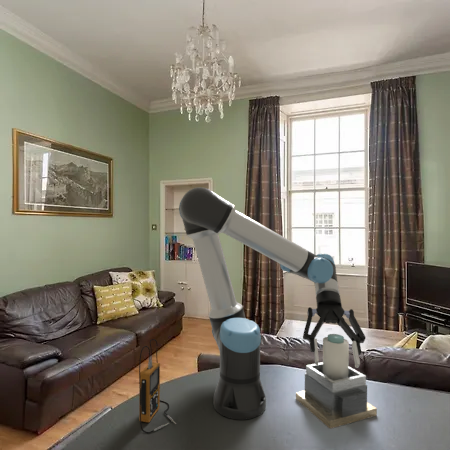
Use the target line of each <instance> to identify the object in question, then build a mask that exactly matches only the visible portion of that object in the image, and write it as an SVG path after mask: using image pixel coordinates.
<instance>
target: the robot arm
mask: <svg viewBox="0 0 450 450" xmlns="http://www.w3.org/2000/svg"><path fill="white" fill-rule="evenodd" d="M178 212H179V215H180V218H181V219H182V222H183V227H184V230H185V233H186V236H187V237H188V238H190V239H192V242H193V245H194V249H195V252H196V253H195V254H196V257H197V260H198V264H199V266H200V267H199V268H200V271H201V274H202V279H203V282H204V286H205V290H206V293H207V298H208V301H209V304H210V308H211V309H210V311H209V313H208V319H209V322H210V326H211V334H212V336H213V338H214V341H215V342H216V345H217V347H218V351H219V378H218V382H217V385H216V387H215V391H214V393H213V399H212V400H213V403H212V404H213V407H214V410H215V411H216V412H217V414H219V415H221V416H223V417H225V418H229V419H232V420H239V421H240V420H241V421H242V420H250V419H254V418H257V417H259V416H261V415H262V414H263V413H264V411H266V406H267V403H266V402H267V401H266V400H267V399H266V397H267V396H266V394H265V391H264V388H263V384H262V380H261V341H262V338H261V337H262V336H261V329H260V326H259V324H257V323H256V322H255V321H254V320H250V319H249V318H246V314H245V310H244V305H243V304H241V303H239V302H238V301H237V298H236V296H235V295H236V294H235V290H234V287H233V283H232V280H231V276H230V272H229V268H228V265H227V261H226V258H225V257H226V256H225V254H224V250H223V246H222V243H221V239H220V236H219V235H220V234H225V235H226V236H229V237H230V238H232V239H233V240H236V241H237V242H239V243H241V244H243V245H245V246H247V247H249V248H251V249H252V250H254V251H256V252H258V253H259V254H261V255H264V256H265V257H267V258H268V259H271V260H272V261H274V262H276V263H278V264H279V265H280V266H279V267H280V269H281V270H282V271H284V272H287V273H288V274H293V275H295V276H296V275H297V276H298V277H302V278H303V279H304V278H305V279H307V280H309V281H311V282H313V283H314V289H315V299H316V308H312V307H308V308H307V312H306V313H307V319H306V322H305V327H304V330H303V334H302V339H303V340H305V341H306V340H307V341H308V343H309V350H310V352H311V353H313V355H314V364H315V365H318V363H320V356H319V347H318V340H317V339H318V338H316V337H317V335H318V333H319V332H320V329H321V328H322V327H323V325H324V323H325V324H337V325H338V326H339V327H340V328H341V329H342V331H343V332H344V334H345V335H347V337H348V338H349V339H350V341H351V342H352V343H351V351H352V355H353V361H354V367H355V368H356V369H359V367H360V365H361V361H360V355H361V354H362V347H361V344H364V342H365V341H366V339H367V338H366V335H365V333H364V331H363V329H362V328H361V326H360V324H359V322H358V320H357V318H356V316H355V312H354V309H352V308H351V309H349V310H345V309H344V308H343V305H342V300H341V295H340V294H341V293H340V289H339V281H338V276H337V269H336V264H335V260H334V258H333V257H332V255H330V254H328V253H318V254H314V253H312V252H311V251H309V250H307V249H306V248H304V247H303V246H301V245H299V244H298V243H296V242H293V241H292V240H290V239H288V238H286V237H284V236H283V235H281V234H279V233H278V232H275V231H274V230H272V229H270V228H268V227H267V226H265V225H263V224H262V223H260V222H258V221H256V220H254V219H252V218H251V217H249V216H247V215H245V214H244V213H242V212H240V211H238V210H237V209H236V208H235V204H233V203H232V202H230V201H228V200H226V199H225V198H223V197H222V196H220V195H219V194H217V193H216V192H214V191H212V190H211V189H209V188H206V187H202V186H198V187H194V188H191V189H189V190H188V191H186V193H185V194H184V195H183V196H182V198H181V200H180V202H179V206H178ZM315 314H316V315H317V316H318V317H319V319H318V321H317V322H316V324H315V326H314V328H313V330H312V331H311V333H309V332H310V329H311V323H312V320H313V317H314V316H315ZM344 316H345V317H346V319H348V321H349V323H348V322H346V320H345V318H344ZM349 324H350V325H351V326H350V325H349ZM355 368H354V369H355Z"/></svg>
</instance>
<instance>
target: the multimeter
mask: <svg viewBox="0 0 450 450" xmlns="http://www.w3.org/2000/svg"><path fill="white" fill-rule="evenodd" d="M152 341H155V343H156V345H158V341H157V339H156V338H155V339H154V338H153V339H150V340H149V346H148V345H144V346H143V347H142V348H141V351H140V354H139V363H138V369H139V370H138V379H139V381H138V382H139V393H138V395H139V399H138V400H139V404H138V406H139V412H138V413H139V415H138V416H139V418H138V419H139V420H138V421H139V423H140V429H141V431H142V432H143V433H146V434H150V433H153V432H156V431H158V430H160V429H162V428H165V426H167V425H169V424H170V422H167V423H165V424H162V425H160V426H157V427H156V428H154V429H152V430H151V431H146V430H144V429H143V426H142V425H143V424H142V422H144V423H150V422H151V420H152V419H153V418H154V416H155V415H156V413H157V412H159V410H160V403H165V404H167V406H168V407H167V408H166V409H165V410H164V411H163V413H164V414H165V415H166V416H167V418H168V419H169V420H170V421H171V422H172V423H174V424H175V425H176V424H177V423H176V421H174V419H173V418H172V417H171V415H169V414H167V411H168V409H170V404H169V403H168V402H167V401H164V400H161V399H160V396H161V395H160V392H161V390H160V387H161V386H160V385H161V383H160V382H161V363H160V362H158V349H156V351H155V352H156V353H155V354H156V355H155V357H156V362H153V356H152V355H151V353H153V352H152V344H151V342H152ZM144 348H147V349H148V364H147V366H145V367H144V368H143V369H142V370H141V361H142V360H141V358H142V352H143V350H144Z"/></svg>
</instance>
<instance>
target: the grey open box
mask: <svg viewBox="0 0 450 450" xmlns="http://www.w3.org/2000/svg"><path fill="white" fill-rule="evenodd" d="M295 400H296V401H297V402H299V403H300V404H301V405H302V406H303V407H304V408H306V409H307V410H308V411H309V412H310V413H311V414H312V415H313V416H315V418H317V419H318V420H319V421H320V422H321V423H323V424H324V425H325V426H326V427H327V428H328V429H330V430H331V429H334V428H338V427H341V426H346V425H348V424H351V423H355V422H359V421H362V420H367V419H370V418H373V417H376V416H377V415H378V408H377V407H375V406H374V405H372V404H371V403H369V402H368V385H367V375H366V374H363V373H362V372H360V371H358V370H356V369H355V368H352V367H351V366H349V365H348V378H344V379H339V380H335V381H333V380H331V379H330V378H328V377H327V376H325V375H324V374H323V361H322V362H319V363H318V365H315V363H312V364H307V365H306V366H305V373H304V390H301V391H296V392H295Z"/></svg>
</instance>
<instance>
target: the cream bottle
mask: <svg viewBox="0 0 450 450" xmlns="http://www.w3.org/2000/svg"><path fill="white" fill-rule="evenodd" d="M349 342H350V341H349V340H347V339H346V338H345V337H344V336H343V335H341V334H337V333H329V334H328V335H327V336H324V337H323V338H322V362H323V374H324V375H325V376H327V377H328V378H330V379H331V380H333V381H335V380H339V379H344V378H348V366H349V362H350V361H349V360H350V359H349V358H350V357H349V351H350V350H349V348H350V346H349V344H350V343H349Z"/></svg>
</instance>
